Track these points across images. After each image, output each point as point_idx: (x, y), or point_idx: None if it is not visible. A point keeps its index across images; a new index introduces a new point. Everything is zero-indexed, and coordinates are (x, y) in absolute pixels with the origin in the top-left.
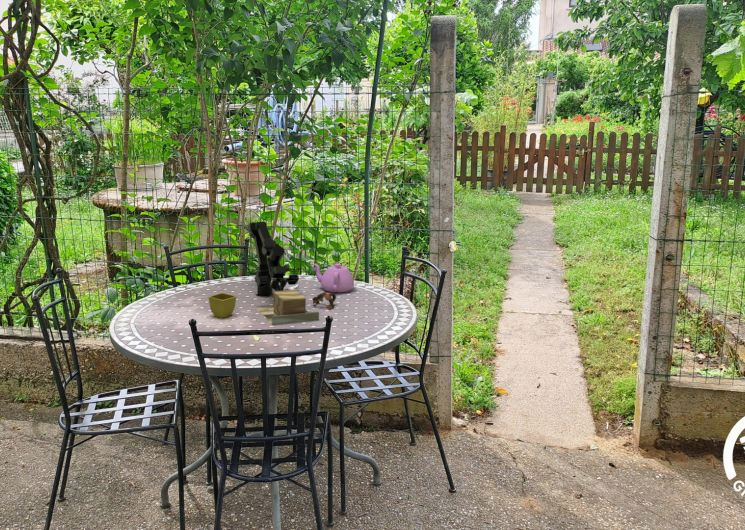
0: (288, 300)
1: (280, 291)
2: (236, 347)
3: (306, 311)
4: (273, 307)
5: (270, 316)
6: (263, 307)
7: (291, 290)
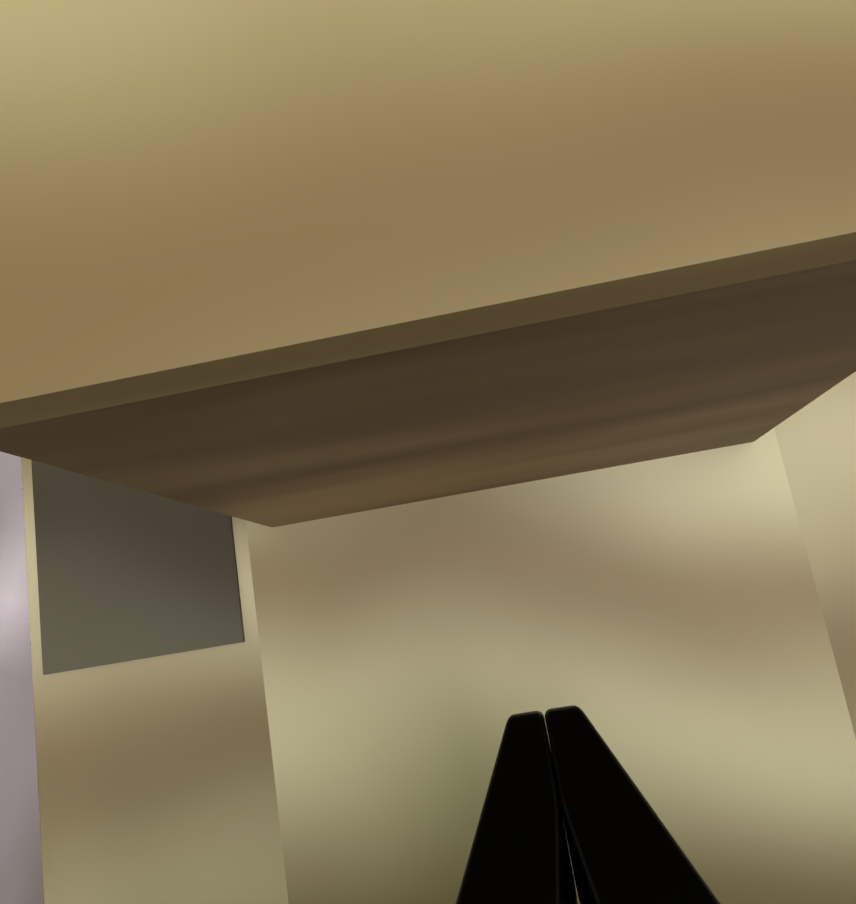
0: None
1: (725, 140)
2: None
3: None
4: (726, 892)
5: None
6: None
7: (103, 283)
